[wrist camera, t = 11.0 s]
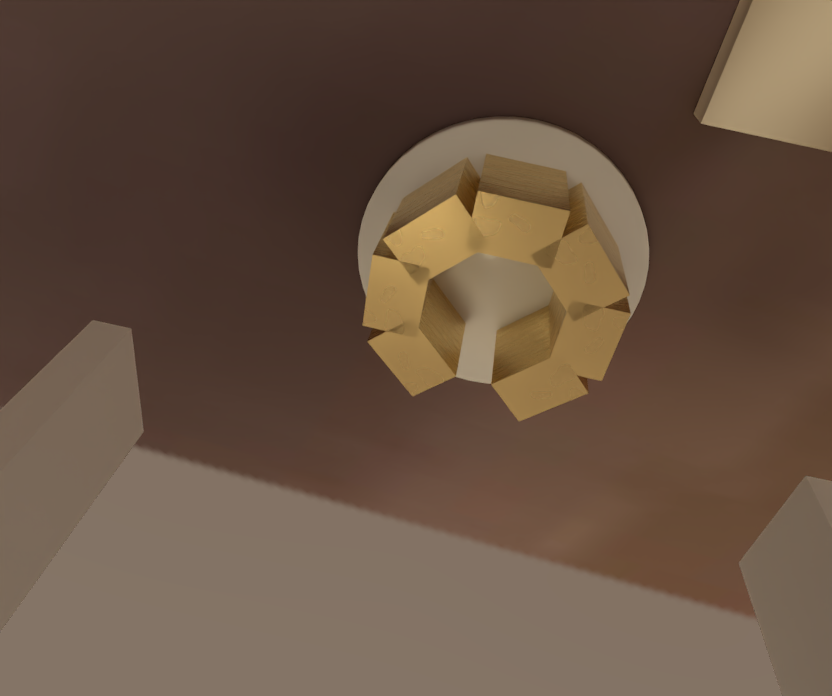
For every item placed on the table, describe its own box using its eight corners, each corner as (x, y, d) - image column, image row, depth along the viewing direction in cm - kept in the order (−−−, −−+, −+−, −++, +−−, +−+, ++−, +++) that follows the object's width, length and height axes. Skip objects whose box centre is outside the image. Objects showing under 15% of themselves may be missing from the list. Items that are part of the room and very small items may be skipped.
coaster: (348, 342, 23) (344, 351, 23) (381, 85, 18) (377, 90, 18) (591, 398, 23) (592, 409, 22) (695, 154, 18) (700, 160, 17)
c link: (405, 135, 18) (384, 169, 16) (648, 189, 18) (665, 233, 15) (374, 330, 22) (354, 382, 20) (574, 376, 22) (578, 435, 19)
